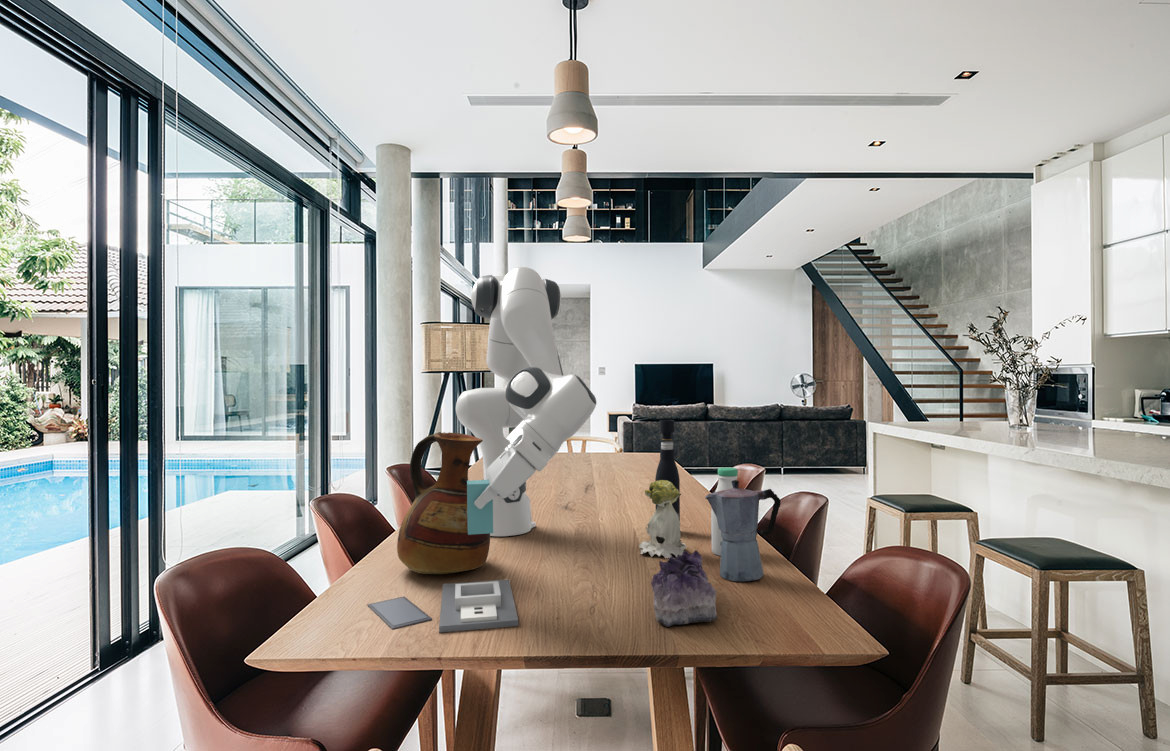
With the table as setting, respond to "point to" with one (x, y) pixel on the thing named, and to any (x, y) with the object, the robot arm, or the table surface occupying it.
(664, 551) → the green-topped white figurine
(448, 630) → the grey socket base board
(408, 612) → the phone
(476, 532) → the teal box with slot
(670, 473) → the wine bottle
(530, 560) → the table surface
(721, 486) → the milk bottle
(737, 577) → the moka pot
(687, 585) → the geode
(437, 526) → the ceramic pitcher
